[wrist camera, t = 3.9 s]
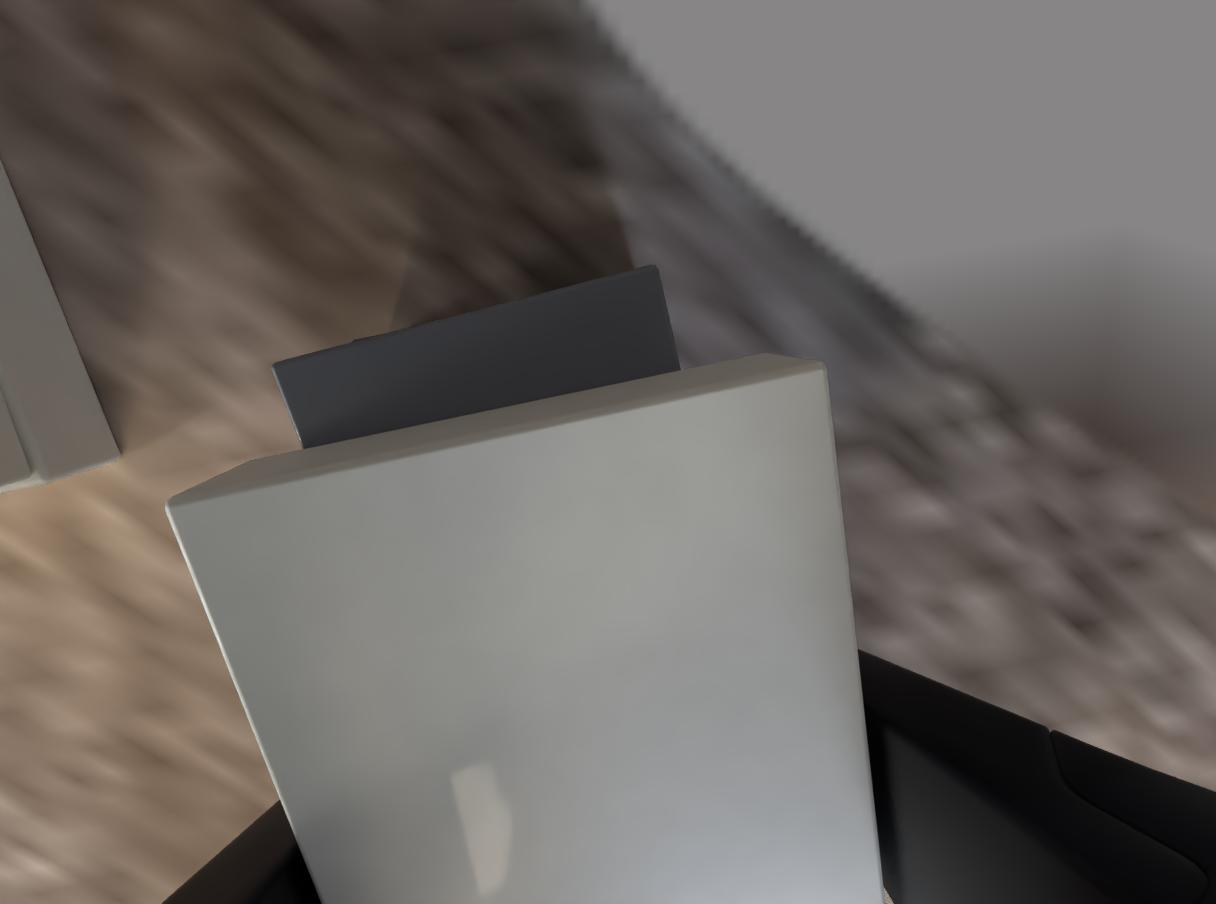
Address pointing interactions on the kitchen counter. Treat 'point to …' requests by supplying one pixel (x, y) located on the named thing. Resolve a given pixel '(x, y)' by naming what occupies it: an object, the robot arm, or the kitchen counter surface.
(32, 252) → the cream flat block
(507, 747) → the white book
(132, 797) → the kitchen counter surface
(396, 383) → the dark grey rectangular block
